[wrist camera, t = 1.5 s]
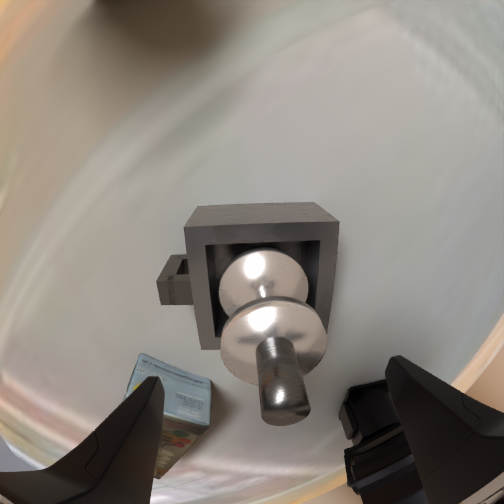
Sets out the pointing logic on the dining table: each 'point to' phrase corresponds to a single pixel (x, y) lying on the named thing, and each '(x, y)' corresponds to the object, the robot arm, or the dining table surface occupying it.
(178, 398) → the beverage carton
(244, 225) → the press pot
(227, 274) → the plunger
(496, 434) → the robot arm
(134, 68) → the dining table surface
